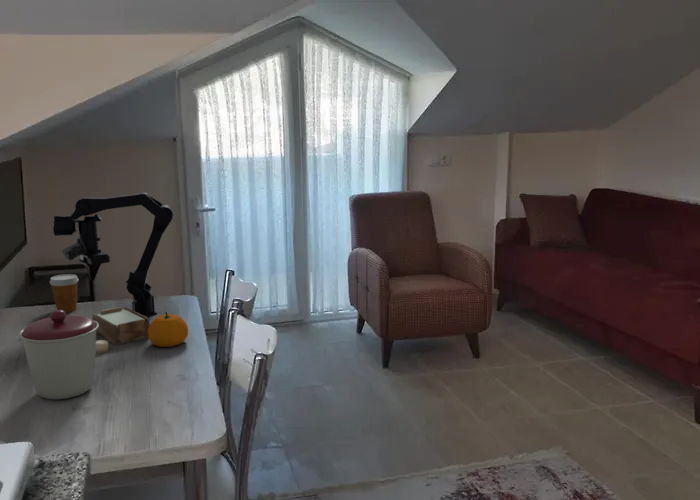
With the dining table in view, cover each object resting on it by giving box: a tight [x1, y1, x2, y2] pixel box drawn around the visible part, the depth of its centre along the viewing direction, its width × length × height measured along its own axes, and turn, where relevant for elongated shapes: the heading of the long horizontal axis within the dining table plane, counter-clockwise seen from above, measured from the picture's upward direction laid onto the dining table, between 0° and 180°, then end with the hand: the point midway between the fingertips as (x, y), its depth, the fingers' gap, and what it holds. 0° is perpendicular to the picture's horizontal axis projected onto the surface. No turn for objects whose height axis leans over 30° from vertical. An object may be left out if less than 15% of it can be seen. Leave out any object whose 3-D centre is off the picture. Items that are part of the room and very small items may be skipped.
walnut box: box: [91, 306, 150, 346], centre depth 213 cm, size 11×17×6 cm, turn 41°
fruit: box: [148, 311, 189, 348], centre depth 204 cm, size 12×12×10 cm
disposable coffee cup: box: [49, 273, 80, 313], centre depth 240 cm, size 10×10×12 cm
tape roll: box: [96, 339, 109, 355], centre depth 199 cm, size 5×5×2 cm
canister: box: [18, 309, 99, 400], centre depth 168 cm, size 18×18×21 cm
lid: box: [96, 306, 145, 328], centre depth 213 cm, size 9×15×2 cm, turn 41°
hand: (92, 280), depth 230 cm, fingers closed
